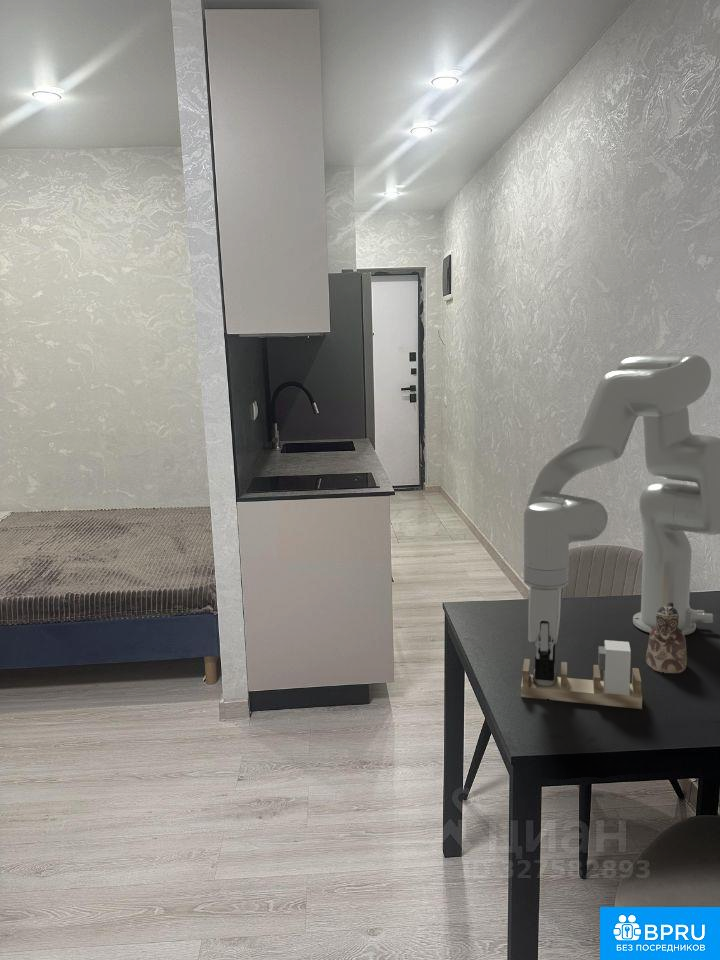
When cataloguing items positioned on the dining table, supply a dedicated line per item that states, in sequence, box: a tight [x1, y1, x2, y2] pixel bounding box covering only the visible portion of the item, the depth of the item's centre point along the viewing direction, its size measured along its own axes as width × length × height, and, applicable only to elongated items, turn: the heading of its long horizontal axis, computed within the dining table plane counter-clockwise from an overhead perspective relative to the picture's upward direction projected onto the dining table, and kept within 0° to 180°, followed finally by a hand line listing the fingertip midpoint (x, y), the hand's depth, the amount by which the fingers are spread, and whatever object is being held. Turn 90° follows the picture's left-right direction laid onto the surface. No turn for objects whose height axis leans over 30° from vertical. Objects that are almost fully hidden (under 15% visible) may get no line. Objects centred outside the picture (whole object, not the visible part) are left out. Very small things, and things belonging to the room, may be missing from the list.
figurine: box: [645, 602, 688, 674], centre depth 132 cm, size 7×7×12 cm
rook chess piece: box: [532, 638, 558, 686], centre depth 124 cm, size 4×4×8 cm
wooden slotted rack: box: [520, 658, 643, 710], centre depth 122 cm, size 20×5×5 cm, turn 74°
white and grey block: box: [597, 639, 632, 695], centre depth 120 cm, size 5×4×8 cm
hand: (545, 670), depth 124 cm, fingers open, 5 cm apart
